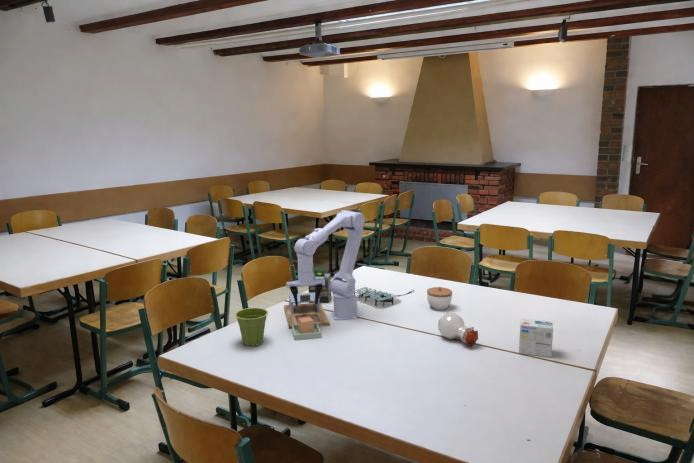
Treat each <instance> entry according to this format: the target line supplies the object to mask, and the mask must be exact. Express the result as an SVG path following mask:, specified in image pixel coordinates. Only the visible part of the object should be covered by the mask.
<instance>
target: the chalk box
mask: <svg viewBox="0 0 694 463" xmlns="http://www.w3.org/2000/svg"><path fill="white" fill-rule="evenodd" d="M319 272H320V273H319ZM313 279H324V280H325V285H324V286H322V287H323V289H322V291H321V293H320V296H319V303H321V304H329V303H330V301H331V298H332V292H331V290H330V283H331V281H332V275H331V273H329V272H328V273H327V272H325V269H318V268H317V269H313ZM313 292H315V286H308V293H313ZM308 303H314V302H308Z"/></svg>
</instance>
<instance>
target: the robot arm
mask: <svg viewBox="0 0 694 463" xmlns="http://www.w3.org/2000/svg"><path fill="white" fill-rule="evenodd" d="M365 223H366V219H365V216H364V214H363V213H361V212H359V211H357V212H356V211H351V210H346V209H343V210H340V212H338V213H336V216H335V217H334V218H333V219H332V220H330V221H329V222H328V223H327V224H325V226H323V227H322V228H321V227H318V228H314V229H313V231H312V232H311V233H309V234H308V235H305V237H303V238H299V239H298V240H297V241H296V242H295V244H294V246H293V250H294V252H295V253H296V257H297V279H298V280H292V281H286V288H287V289H289V290H290V292H291V294H293V296H294V300H295V303H294V304H295V305H296V306H298V304H299V303H298V300H297V294H298V288H302V287H303V288H304V287H309V286H315V303H316V304H318V299H319V296H320V293H321V291H322V289H323V287H322V286H324V285H325V280H324V279H313V273H314V256H313V255H314V254H315V253H316V250H317V249H318V248H319V246H321V245H322V244H324V243H325V242H326V241H327V240H328V236H329V235H331V234H332V233H334V232H336V231H338V229H340V228H343V229H344V230H345V231H346V232H347V234H348V237H347V240H346V243H345V249H344V252H343V256H342V259H341V262H340V267H339V271H337V272H336V273H334V275H333V277H332V278H331V283H330V290H331V293H332V296H333V312H331V315H332V317H333V319H334V321H340V320H341V321H342V320H354V319H358V301H357V299H356V294H355V295H354V292H356V291H355V290H356V281H357V280H356V279H355V277H354V276H353V272H354V268H355V265H356V261H357V258H358V254H359V250H360V245H361V242H362V238H363V236H364V234H363V232H364V226H365Z"/></svg>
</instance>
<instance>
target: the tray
mask: <svg viewBox="0 0 694 463" xmlns="http://www.w3.org/2000/svg"><path fill="white" fill-rule="evenodd" d="M291 332H292V336H293V339H294V341H300V340H301V341H302V340H303V341H304V340H313V339H322V331H321V328H320V326H318V323H314V333H305V334H300V333H299V327H298V324H295V325H292V329H291Z"/></svg>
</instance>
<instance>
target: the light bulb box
mask: <svg viewBox="0 0 694 463" xmlns="http://www.w3.org/2000/svg"><path fill="white" fill-rule="evenodd" d="M553 336H554V324H553V321H550V320H548V321H547V320H537V319H528V318H522V317H521V319H520V326H519V338H518V339H519V342H518V343H519V345H518V353H519V354H524V355H529V356H530V355H531V356H537V357H546V358H551V357H552V354H553V352H552V351H553Z"/></svg>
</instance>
